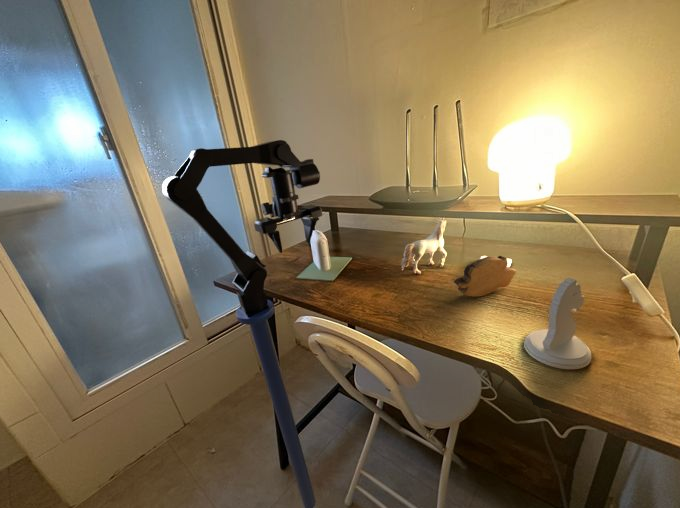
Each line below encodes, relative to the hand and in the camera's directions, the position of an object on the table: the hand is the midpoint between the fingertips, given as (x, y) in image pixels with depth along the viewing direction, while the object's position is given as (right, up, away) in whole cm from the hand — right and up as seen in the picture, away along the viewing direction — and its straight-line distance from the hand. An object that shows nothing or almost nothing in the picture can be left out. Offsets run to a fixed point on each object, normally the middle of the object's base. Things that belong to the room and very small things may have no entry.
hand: (294, 247), depth 87 cm
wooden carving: (+48, -13, -11) cm, 51 cm away
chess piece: (+51, -22, -31) cm, 64 cm away
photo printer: (+8, -5, +18) cm, 20 cm away
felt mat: (+9, -5, +16) cm, 19 cm away
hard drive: (+56, -7, -1) cm, 56 cm away
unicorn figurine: (+39, -5, +8) cm, 41 cm away
